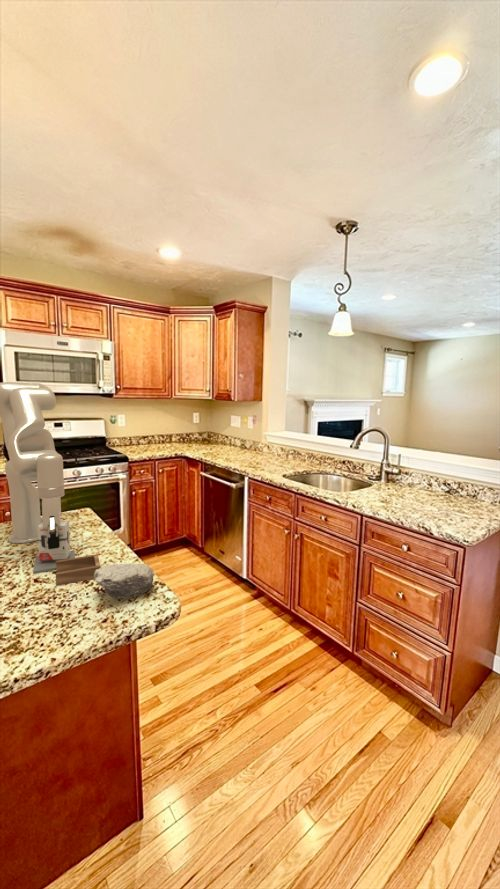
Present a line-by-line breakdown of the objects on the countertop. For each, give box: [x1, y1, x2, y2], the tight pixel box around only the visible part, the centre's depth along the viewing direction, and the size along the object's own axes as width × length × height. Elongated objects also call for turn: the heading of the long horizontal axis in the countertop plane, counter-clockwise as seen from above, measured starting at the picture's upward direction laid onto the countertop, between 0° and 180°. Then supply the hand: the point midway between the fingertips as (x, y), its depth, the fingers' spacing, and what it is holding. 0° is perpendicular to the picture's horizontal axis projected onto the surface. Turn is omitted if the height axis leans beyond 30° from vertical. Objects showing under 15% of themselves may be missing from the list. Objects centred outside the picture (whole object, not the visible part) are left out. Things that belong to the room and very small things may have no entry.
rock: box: [93, 562, 154, 600], centre depth 103 cm, size 11×17×10 cm, turn 126°
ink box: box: [37, 519, 71, 561], centre depth 121 cm, size 8×5×12 cm, turn 104°
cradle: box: [55, 553, 102, 587], centre depth 114 cm, size 10×12×4 cm
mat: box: [32, 549, 76, 575], centre depth 122 cm, size 12×12×1 cm
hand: (54, 544), depth 121 cm, fingers closed on ink box, 5 cm apart
